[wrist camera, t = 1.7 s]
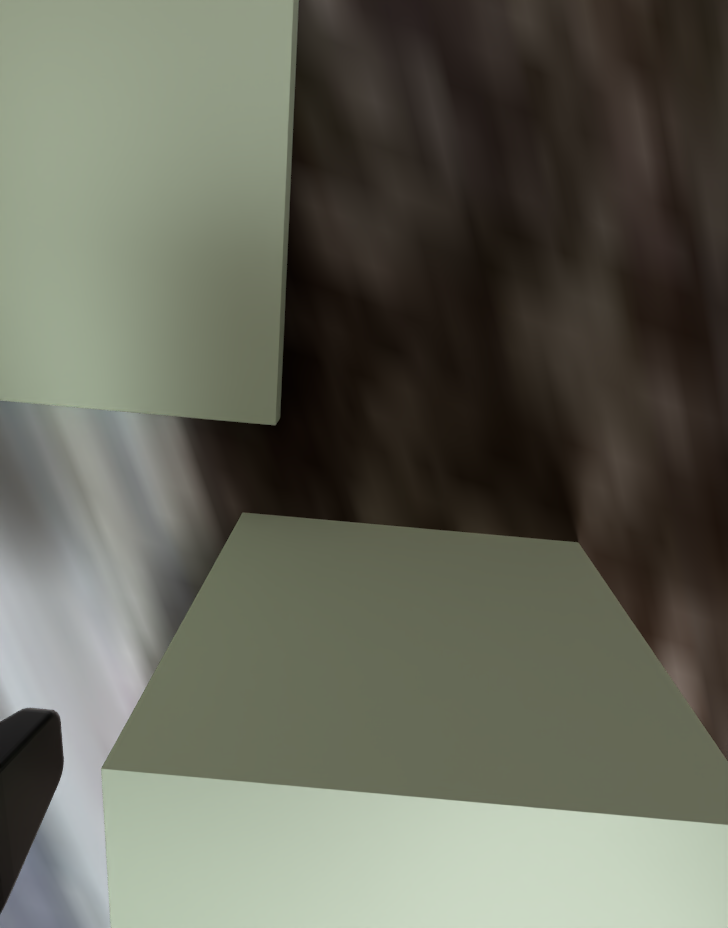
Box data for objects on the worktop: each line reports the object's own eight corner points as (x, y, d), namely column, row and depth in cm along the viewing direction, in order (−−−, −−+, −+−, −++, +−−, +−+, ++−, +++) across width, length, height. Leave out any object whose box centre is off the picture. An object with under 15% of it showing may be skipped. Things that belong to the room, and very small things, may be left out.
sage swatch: (303, -108, 7) (298, -129, 7) (280, 418, 9) (275, 425, 8) (-236, -156, 7) (-272, -180, 7) (-145, 380, 9) (-170, 385, 8)
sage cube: (576, 540, 9) (773, 829, 5) (522, 800, 11) (628, 1215, 6) (242, 510, 9) (102, 768, 5) (236, 775, 11) (125, 1168, 6)
